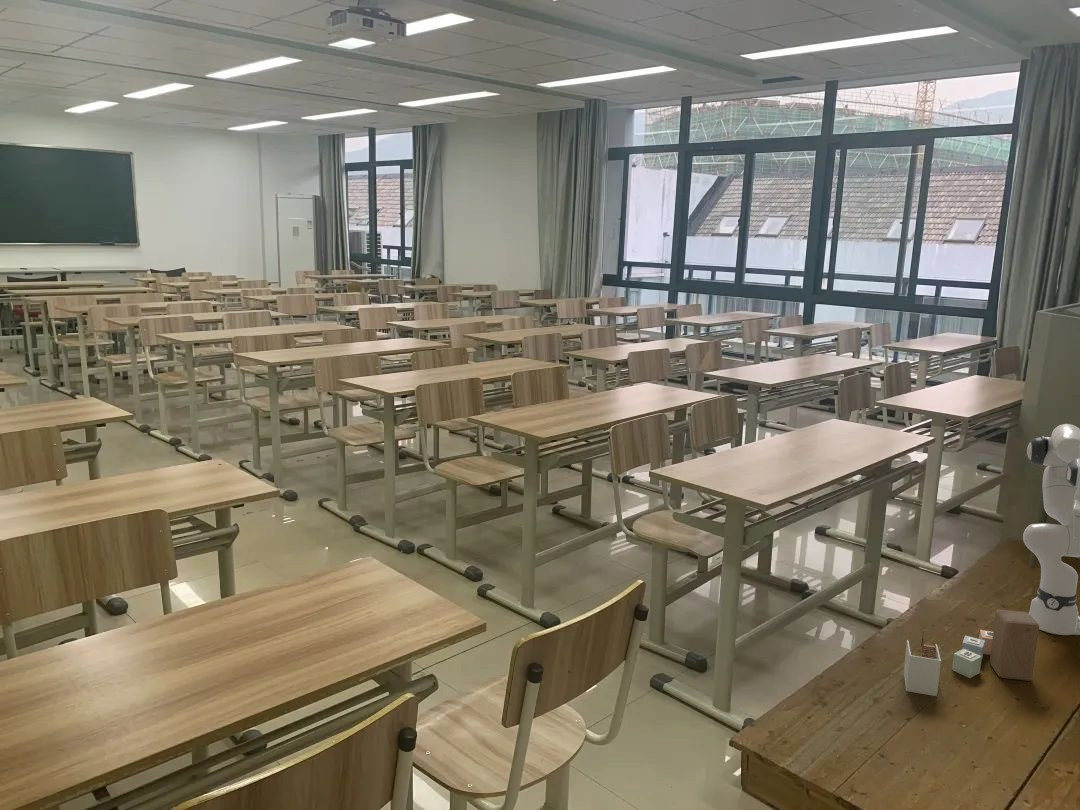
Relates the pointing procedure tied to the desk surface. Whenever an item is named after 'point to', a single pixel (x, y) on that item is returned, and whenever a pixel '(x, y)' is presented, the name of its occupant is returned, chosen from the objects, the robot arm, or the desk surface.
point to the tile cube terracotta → (986, 640)
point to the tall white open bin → (922, 670)
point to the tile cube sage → (966, 663)
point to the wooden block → (1014, 644)
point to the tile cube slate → (973, 645)
